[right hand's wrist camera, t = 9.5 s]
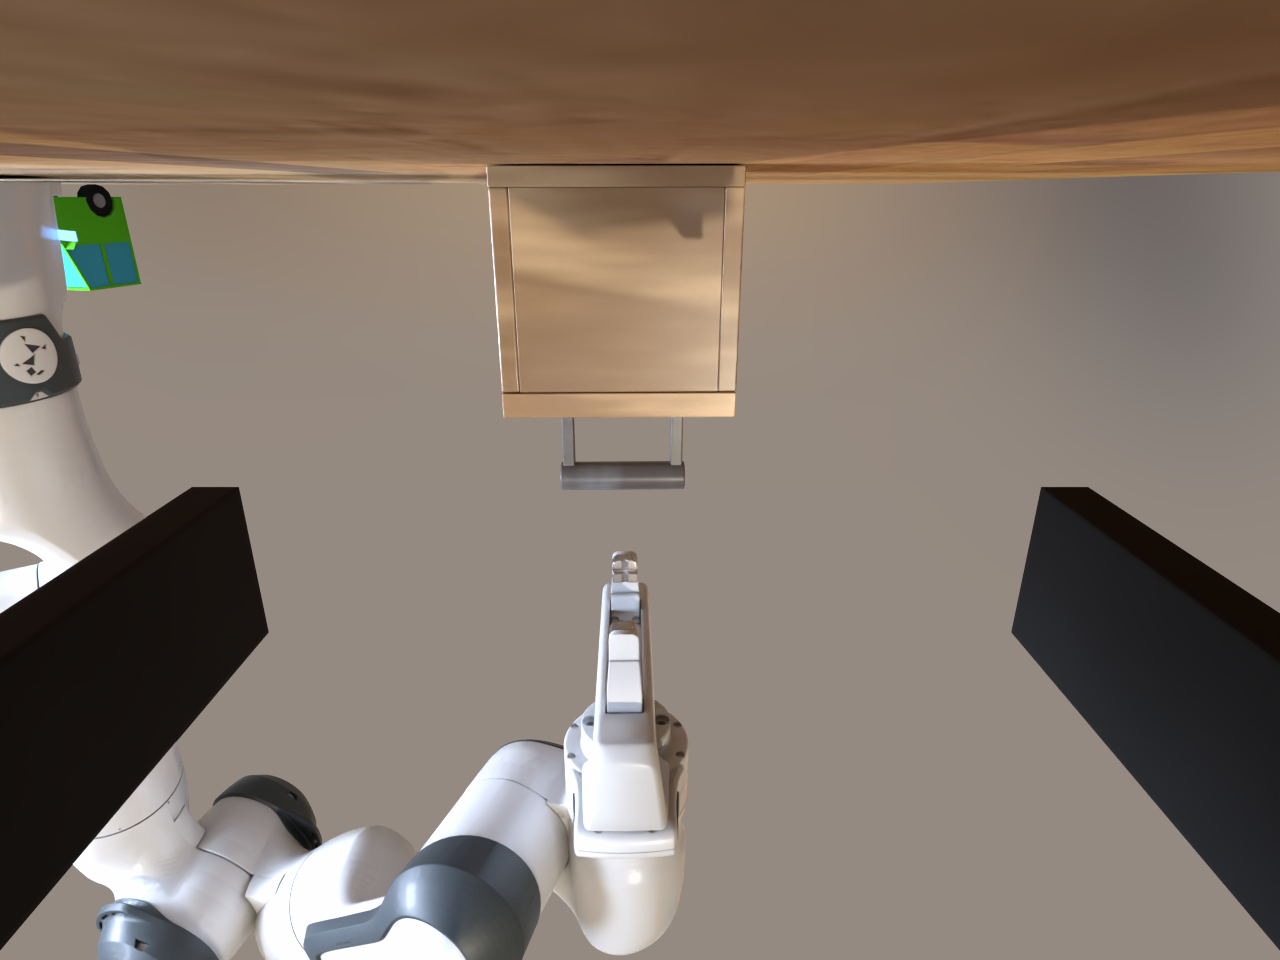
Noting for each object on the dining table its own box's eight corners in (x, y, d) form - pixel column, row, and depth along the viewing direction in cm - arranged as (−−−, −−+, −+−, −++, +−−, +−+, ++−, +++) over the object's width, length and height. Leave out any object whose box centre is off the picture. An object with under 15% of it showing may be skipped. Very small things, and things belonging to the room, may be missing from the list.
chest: (711, 172, 42) (706, 336, 45) (528, 172, 42) (536, 337, 45) (746, 165, 29) (736, 391, 33) (485, 165, 29) (501, 392, 33)
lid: (705, 334, 46) (701, 472, 49) (538, 335, 46) (545, 472, 49) (736, 392, 33) (727, 575, 36) (501, 393, 33) (514, 577, 36)
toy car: (-4, 183, 65) (30, 300, 69) (126, 184, 78) (149, 284, 81) (-93, 183, 68) (-56, 297, 71) (46, 185, 80) (72, 281, 83)
